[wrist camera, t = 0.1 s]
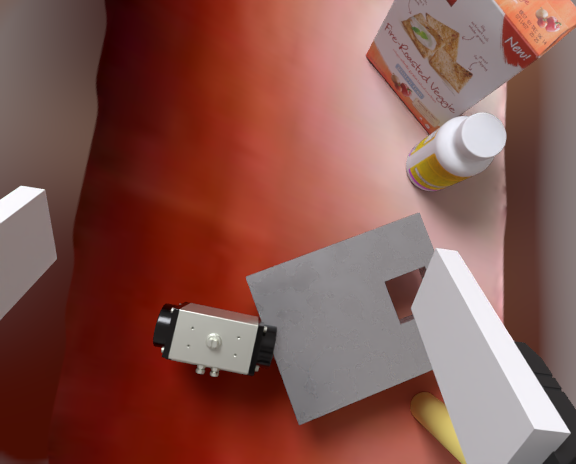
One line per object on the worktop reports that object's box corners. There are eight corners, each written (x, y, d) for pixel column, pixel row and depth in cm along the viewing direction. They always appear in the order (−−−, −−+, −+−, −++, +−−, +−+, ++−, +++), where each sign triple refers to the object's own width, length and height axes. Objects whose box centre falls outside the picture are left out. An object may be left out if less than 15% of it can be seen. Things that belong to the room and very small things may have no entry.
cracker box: (362, 58, 53) (429, -77, 32) (396, 32, 53) (484, -117, 33) (428, 140, 52) (540, 57, 32) (462, 113, 53) (593, 15, 32)
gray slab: (439, 338, 50) (473, 352, 42) (292, 398, 48) (299, 425, 40) (394, 220, 51) (419, 212, 43) (247, 275, 49) (245, 277, 41)
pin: (442, 415, 49) (514, 473, 36) (416, 426, 49) (479, 490, 35) (432, 387, 50) (499, 435, 36) (406, 398, 49) (463, 450, 35)
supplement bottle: (450, 195, 52) (513, 172, 39) (401, 188, 52) (449, 163, 39) (455, 146, 53) (518, 108, 40) (406, 138, 52) (455, 97, 39)
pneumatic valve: (180, 295, 48) (155, 305, 36) (274, 315, 49) (279, 331, 37) (170, 341, 48) (140, 366, 36) (265, 360, 48) (267, 391, 36)
